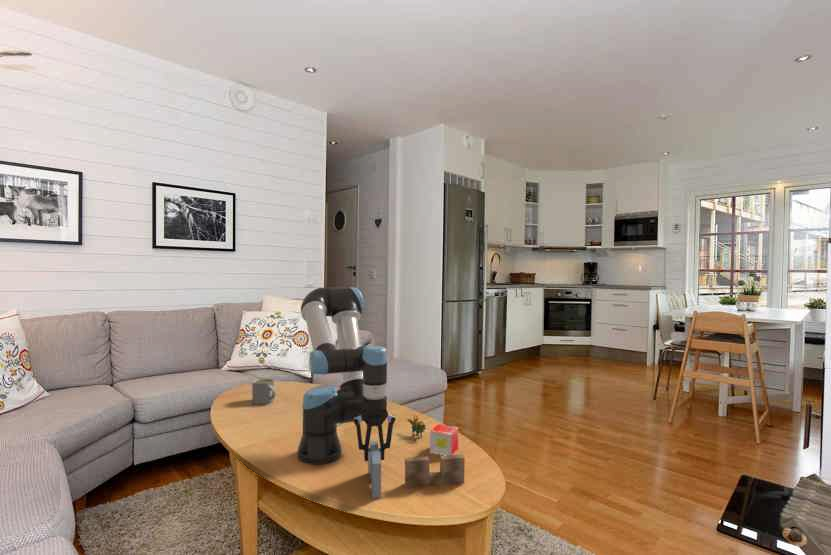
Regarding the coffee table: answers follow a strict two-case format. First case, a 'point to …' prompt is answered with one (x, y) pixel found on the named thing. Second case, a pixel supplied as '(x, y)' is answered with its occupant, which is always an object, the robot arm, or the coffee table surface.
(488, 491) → the coffee table surface
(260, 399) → the coffee mug
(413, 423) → the figurine
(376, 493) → the grey slotted plate
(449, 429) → the red patterned cube
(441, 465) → the walnut slotted upright
